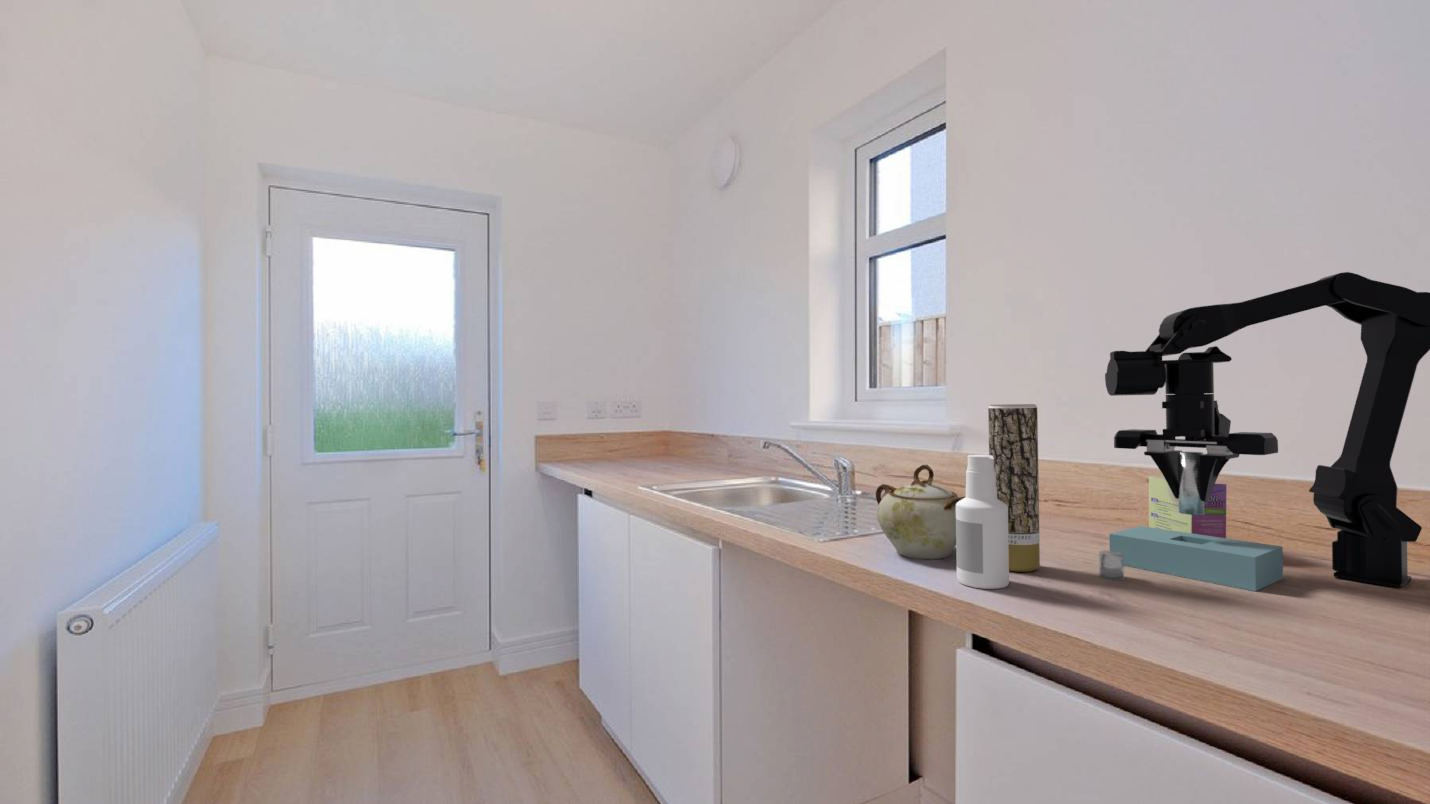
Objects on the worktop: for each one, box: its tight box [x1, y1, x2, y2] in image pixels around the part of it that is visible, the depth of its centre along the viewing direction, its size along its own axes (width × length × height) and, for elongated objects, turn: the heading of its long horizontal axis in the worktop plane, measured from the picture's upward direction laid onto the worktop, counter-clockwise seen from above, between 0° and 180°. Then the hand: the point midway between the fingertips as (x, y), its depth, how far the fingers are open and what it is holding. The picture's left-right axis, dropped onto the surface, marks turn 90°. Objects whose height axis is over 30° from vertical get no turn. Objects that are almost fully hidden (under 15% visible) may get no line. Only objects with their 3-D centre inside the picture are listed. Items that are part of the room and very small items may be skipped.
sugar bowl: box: [875, 464, 966, 560], centre depth 106 cm, size 20×15×15 cm
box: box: [1148, 475, 1227, 538], centre depth 105 cm, size 10×6×12 cm, turn 179°
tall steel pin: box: [1178, 451, 1204, 515], centre depth 93 cm, size 3×3×9 cm
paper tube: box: [987, 403, 1041, 573], centre depth 96 cm, size 7×7×25 cm
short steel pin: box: [1098, 550, 1125, 581], centre depth 90 cm, size 3×3×4 cm
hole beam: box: [1109, 525, 1284, 592], centre depth 93 cm, size 18×10×4 cm, turn 32°
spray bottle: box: [955, 454, 1010, 590], centre depth 89 cm, size 7×7×18 cm
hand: (1191, 499), depth 93 cm, fingers closed on tall steel pin, 3 cm apart
